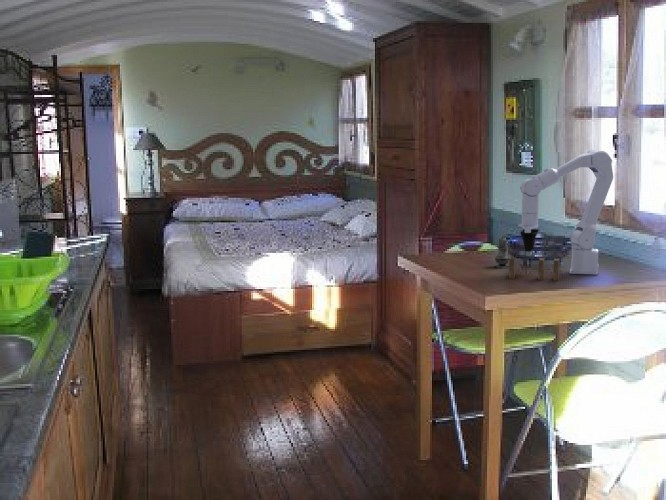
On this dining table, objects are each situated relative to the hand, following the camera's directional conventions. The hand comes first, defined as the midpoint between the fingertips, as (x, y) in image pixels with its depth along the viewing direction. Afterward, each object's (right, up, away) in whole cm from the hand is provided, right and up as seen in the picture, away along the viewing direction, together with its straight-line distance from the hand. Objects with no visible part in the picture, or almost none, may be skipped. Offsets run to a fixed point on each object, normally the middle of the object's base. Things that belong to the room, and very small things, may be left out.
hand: (529, 250), depth 278 cm
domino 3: (+2, -10, -8) cm, 13 cm away
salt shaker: (-6, -7, +16) cm, 18 cm away
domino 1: (-7, -10, -5) cm, 13 cm away
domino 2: (0, -2, 0) cm, 2 cm away
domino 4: (+7, -10, -10) cm, 16 cm away
